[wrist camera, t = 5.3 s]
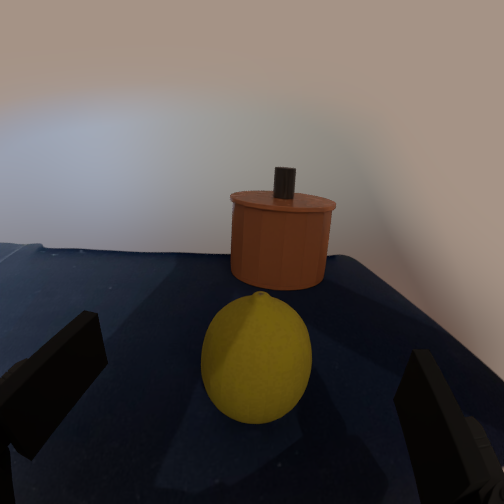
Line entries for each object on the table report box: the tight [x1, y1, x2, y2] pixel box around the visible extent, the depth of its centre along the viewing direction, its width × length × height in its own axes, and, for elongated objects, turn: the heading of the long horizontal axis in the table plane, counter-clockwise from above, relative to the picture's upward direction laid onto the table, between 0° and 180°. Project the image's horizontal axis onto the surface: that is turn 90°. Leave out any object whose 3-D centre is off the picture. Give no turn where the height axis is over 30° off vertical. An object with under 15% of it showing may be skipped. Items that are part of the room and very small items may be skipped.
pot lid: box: [230, 167, 336, 213], centre depth 36 cm, size 12×12×5 cm
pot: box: [231, 203, 332, 290], centre depth 38 cm, size 11×11×8 cm
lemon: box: [201, 291, 312, 424], centre depth 15 cm, size 6×6×8 cm
